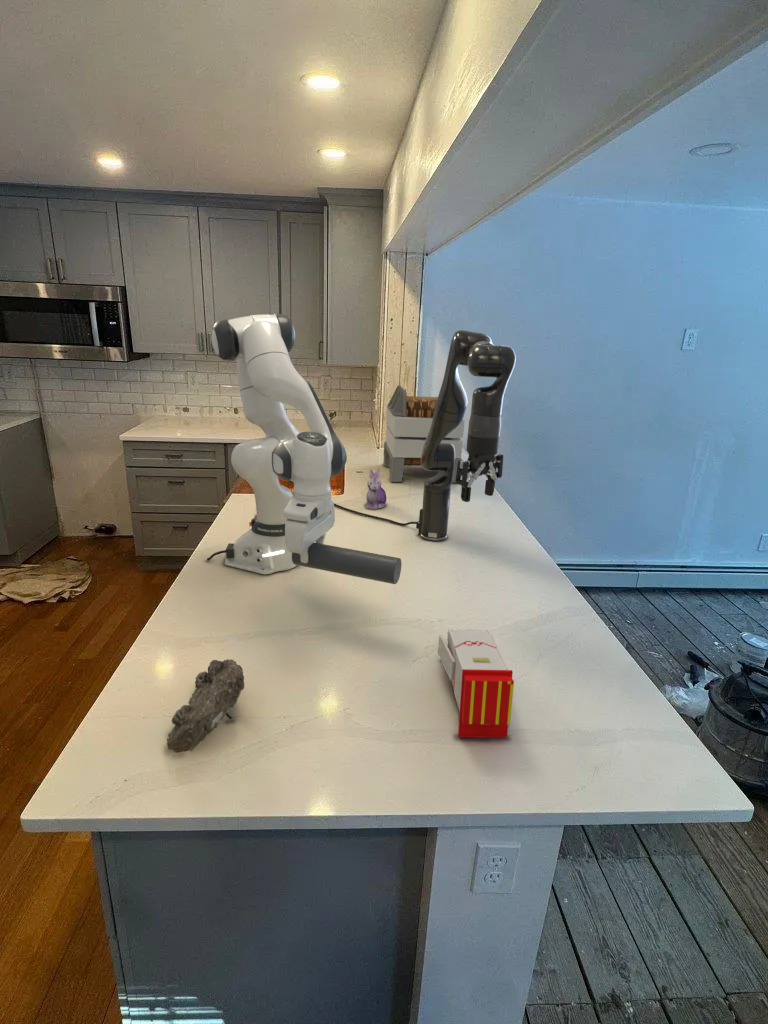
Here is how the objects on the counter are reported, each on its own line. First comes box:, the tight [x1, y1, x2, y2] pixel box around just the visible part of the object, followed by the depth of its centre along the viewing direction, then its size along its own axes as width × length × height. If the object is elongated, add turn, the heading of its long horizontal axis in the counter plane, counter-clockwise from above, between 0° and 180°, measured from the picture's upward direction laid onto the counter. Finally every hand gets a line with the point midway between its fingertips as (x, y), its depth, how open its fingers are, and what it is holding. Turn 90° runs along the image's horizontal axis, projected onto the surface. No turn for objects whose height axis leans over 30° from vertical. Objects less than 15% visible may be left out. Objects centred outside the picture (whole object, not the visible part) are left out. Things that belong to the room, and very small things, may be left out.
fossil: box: [166, 658, 245, 754], centre depth 106 cm, size 22×10×15 cm
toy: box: [437, 628, 515, 738], centre depth 117 cm, size 12×13×30 cm
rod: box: [292, 542, 402, 585], centre depth 135 cm, size 26×6×6 cm, turn 72°
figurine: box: [365, 468, 387, 510], centre depth 224 cm, size 9×10×15 cm
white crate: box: [383, 384, 465, 484], centre depth 268 cm, size 34×33×41 cm
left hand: (312, 555), depth 138 cm, fingers closed on rod, 6 cm apart
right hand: (477, 498), depth 139 cm, fingers open, 8 cm apart
